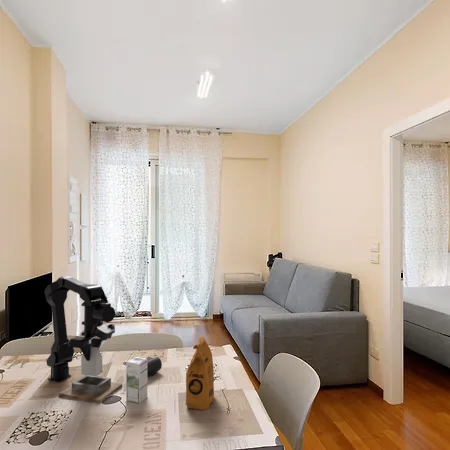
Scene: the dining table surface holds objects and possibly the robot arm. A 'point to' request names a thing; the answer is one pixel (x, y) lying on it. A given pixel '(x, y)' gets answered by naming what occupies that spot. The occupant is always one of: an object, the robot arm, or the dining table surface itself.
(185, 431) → the dining table surface
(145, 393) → the syrup box
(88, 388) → the dock
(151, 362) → the end cap
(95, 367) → the tea bag
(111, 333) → the robot arm
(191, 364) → the coffee package
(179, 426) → the dining table surface
